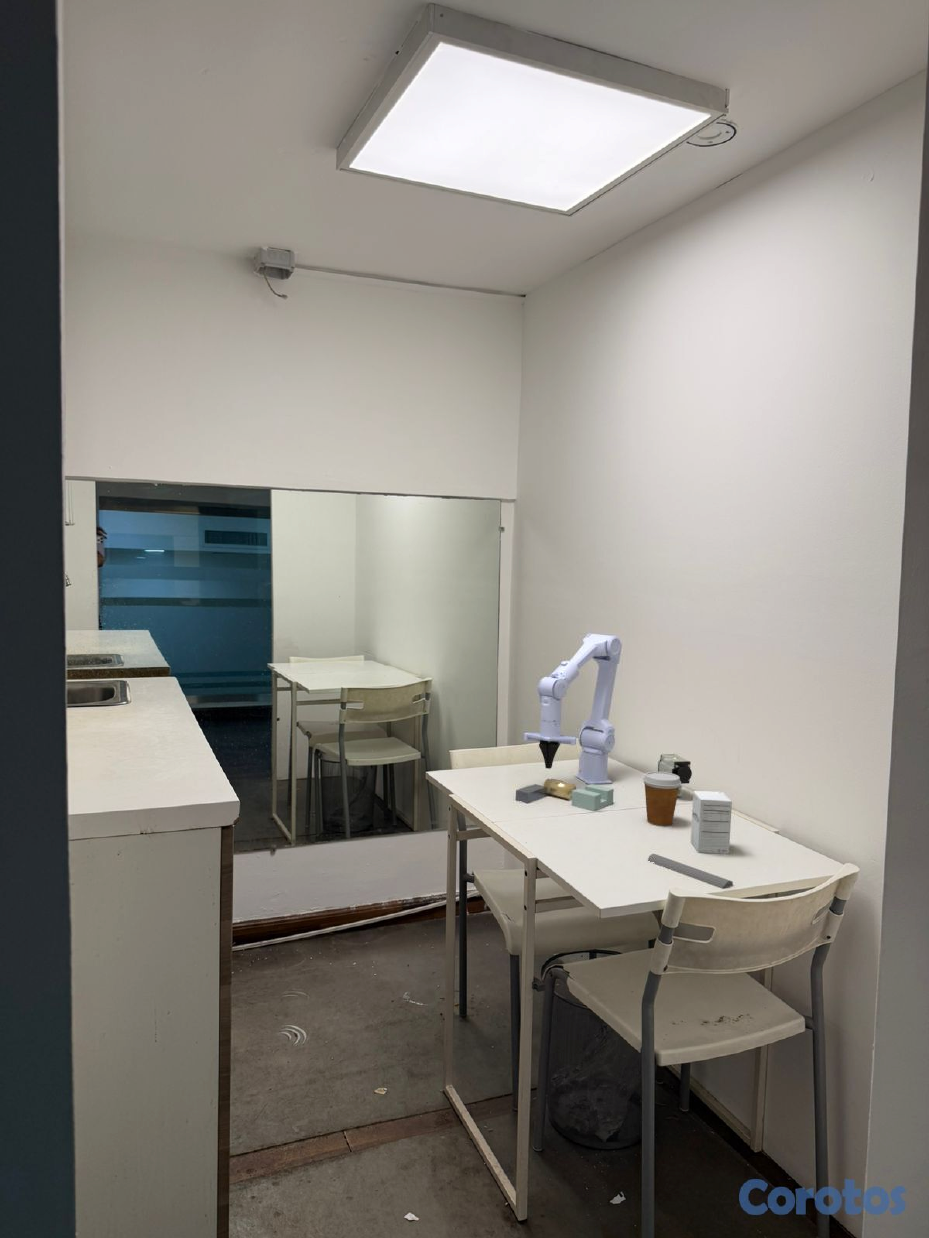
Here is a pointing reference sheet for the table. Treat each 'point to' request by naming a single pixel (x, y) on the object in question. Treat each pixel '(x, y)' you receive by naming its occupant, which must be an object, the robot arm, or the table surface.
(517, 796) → the grey rectangular blocks
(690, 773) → the pneumatic valve
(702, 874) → the half round rod
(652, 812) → the disposable coffee cup
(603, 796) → the v block
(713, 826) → the supplement box
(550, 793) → the gold rounded piece
